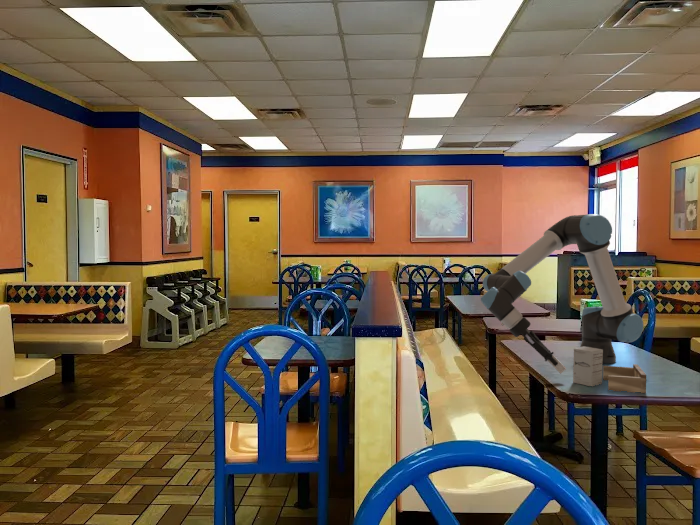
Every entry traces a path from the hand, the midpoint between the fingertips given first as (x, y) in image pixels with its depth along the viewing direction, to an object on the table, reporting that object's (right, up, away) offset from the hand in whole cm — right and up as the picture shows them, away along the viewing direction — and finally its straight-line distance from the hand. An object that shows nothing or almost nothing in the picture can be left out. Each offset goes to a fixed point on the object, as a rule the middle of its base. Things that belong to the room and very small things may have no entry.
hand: (563, 370), depth 209 cm
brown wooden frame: (+18, -4, -6) cm, 20 cm away
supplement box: (+8, -4, -2) cm, 9 cm away
